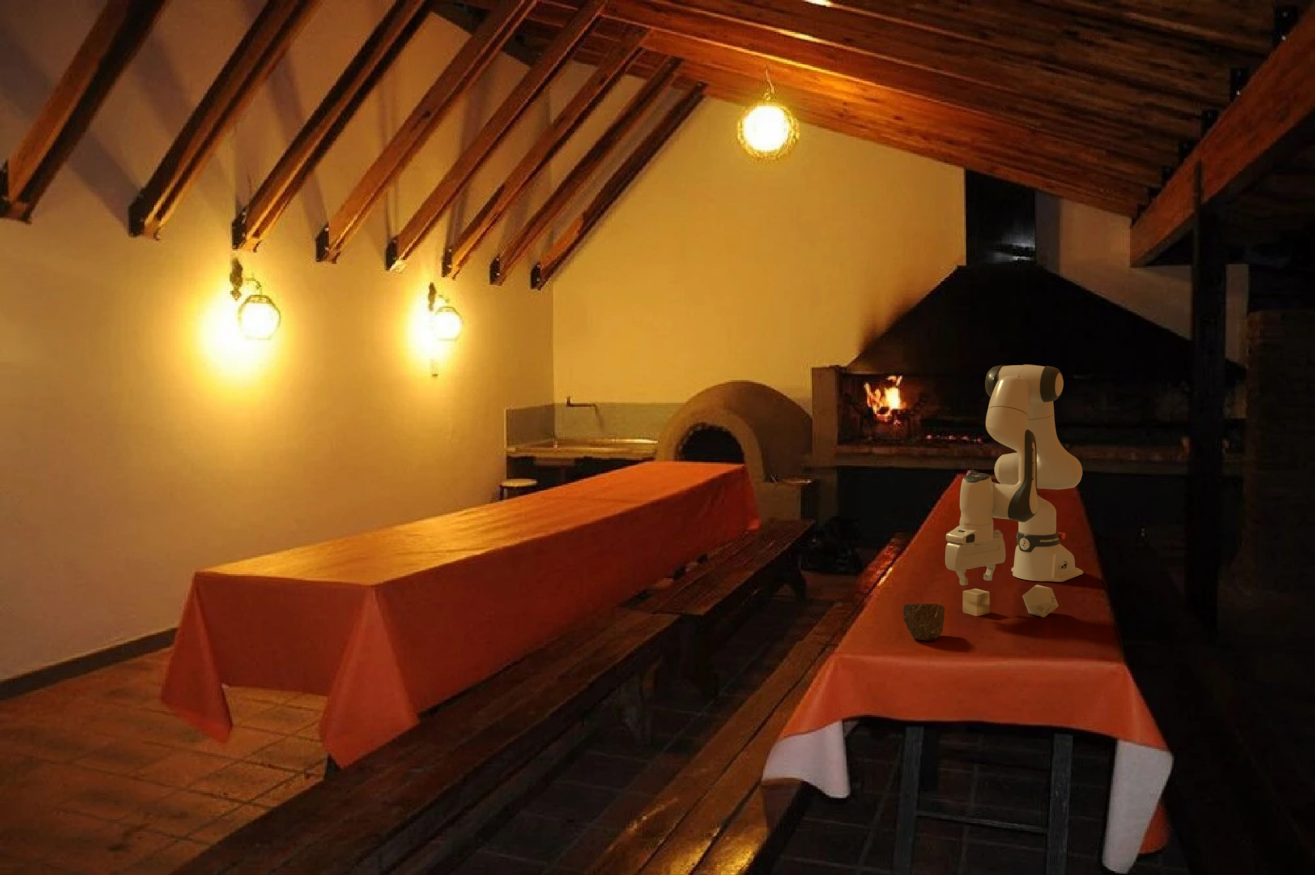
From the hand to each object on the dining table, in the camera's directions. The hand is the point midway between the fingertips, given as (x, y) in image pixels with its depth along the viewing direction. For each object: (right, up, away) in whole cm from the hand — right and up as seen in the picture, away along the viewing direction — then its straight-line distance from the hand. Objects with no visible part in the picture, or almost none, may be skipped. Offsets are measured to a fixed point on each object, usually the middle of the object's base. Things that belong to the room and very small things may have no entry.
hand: (975, 582), depth 276 cm
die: (+17, -9, -2) cm, 19 cm away
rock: (-19, -12, -20) cm, 30 cm away
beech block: (0, -9, +1) cm, 9 cm away
